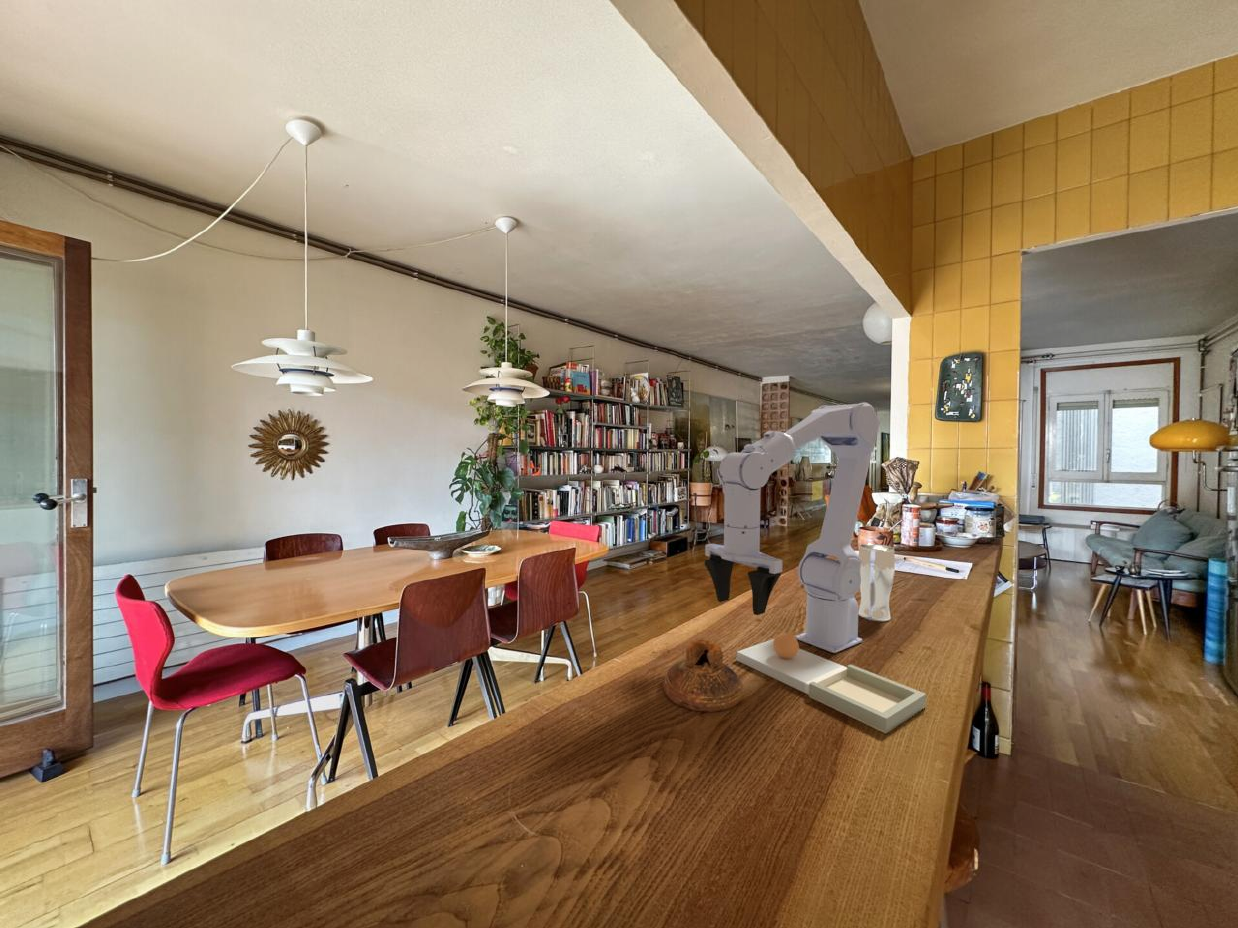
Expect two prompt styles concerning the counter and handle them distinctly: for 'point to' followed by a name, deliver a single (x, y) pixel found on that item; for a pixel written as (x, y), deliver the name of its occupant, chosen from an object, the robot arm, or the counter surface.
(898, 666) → the counter surface
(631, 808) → the counter surface
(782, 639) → the ball
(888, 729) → the tray
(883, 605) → the beer glass
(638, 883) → the counter surface
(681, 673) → the bell
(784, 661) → the plate
